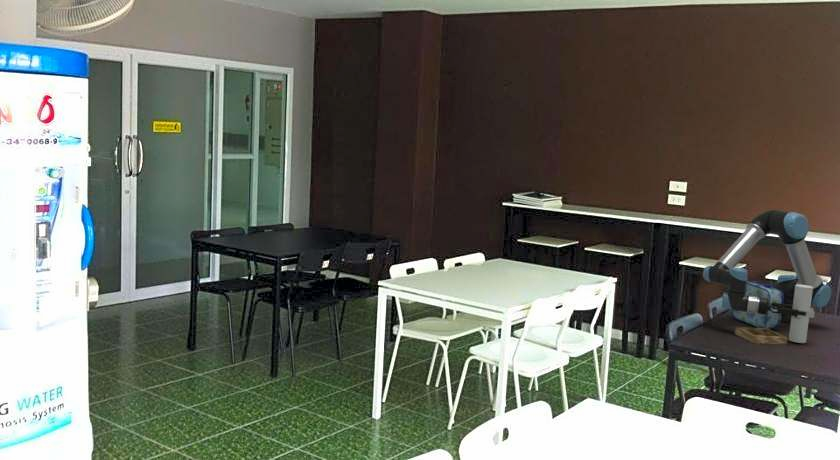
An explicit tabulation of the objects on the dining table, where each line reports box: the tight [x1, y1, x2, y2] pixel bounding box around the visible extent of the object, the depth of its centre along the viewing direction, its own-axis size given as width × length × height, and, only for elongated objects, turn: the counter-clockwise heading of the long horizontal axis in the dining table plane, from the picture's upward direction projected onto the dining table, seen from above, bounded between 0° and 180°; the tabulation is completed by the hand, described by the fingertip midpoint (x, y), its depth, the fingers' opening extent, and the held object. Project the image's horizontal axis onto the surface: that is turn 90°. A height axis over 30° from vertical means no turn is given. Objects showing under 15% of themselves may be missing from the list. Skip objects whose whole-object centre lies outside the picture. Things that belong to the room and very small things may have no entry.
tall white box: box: [788, 284, 813, 344], centre depth 365 cm, size 7×7×25 cm
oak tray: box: [734, 326, 788, 346], centre depth 368 cm, size 16×16×3 cm
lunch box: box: [731, 280, 784, 330], centre depth 397 cm, size 26×11×21 cm, turn 16°
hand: (813, 313), depth 363 cm, fingers closed on tall white box, 7 cm apart
